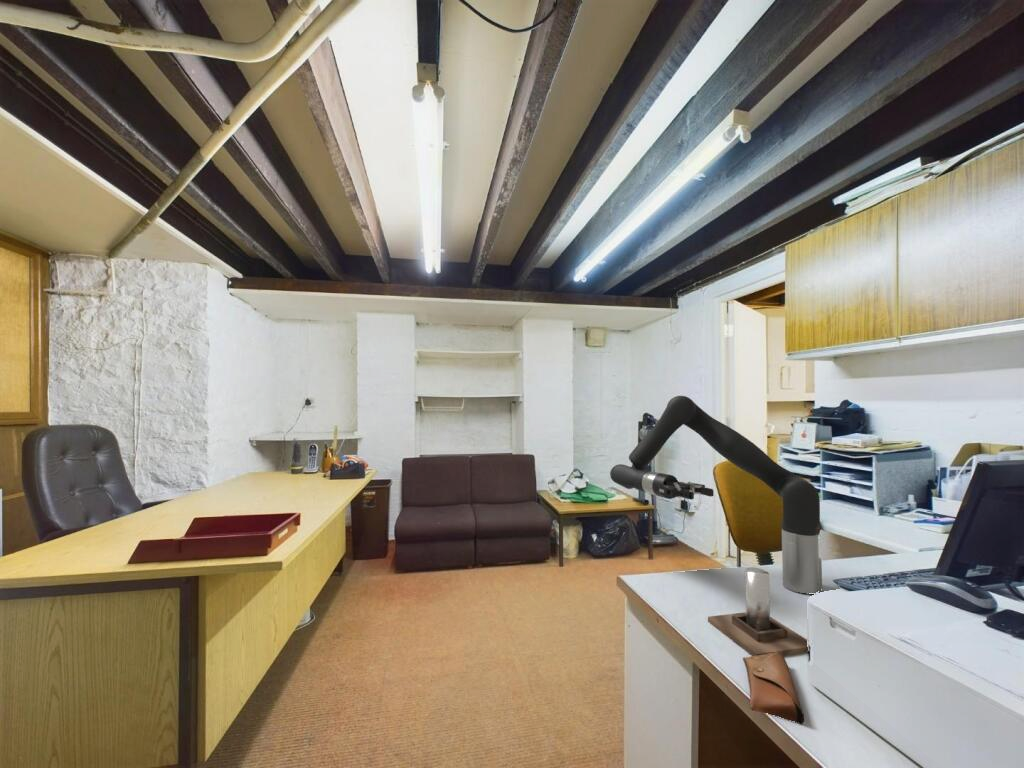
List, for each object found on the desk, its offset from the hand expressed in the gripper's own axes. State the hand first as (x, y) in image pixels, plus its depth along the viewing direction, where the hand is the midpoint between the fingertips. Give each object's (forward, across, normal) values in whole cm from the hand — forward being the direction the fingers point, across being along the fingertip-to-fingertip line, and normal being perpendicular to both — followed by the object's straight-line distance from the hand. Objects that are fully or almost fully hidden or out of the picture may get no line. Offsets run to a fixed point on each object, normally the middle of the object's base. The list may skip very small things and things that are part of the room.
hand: (703, 494), depth 119 cm
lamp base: (+18, -5, +30) cm, 35 cm away
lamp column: (+18, -5, +29) cm, 34 cm away
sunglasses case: (+30, -21, +31) cm, 48 cm away
